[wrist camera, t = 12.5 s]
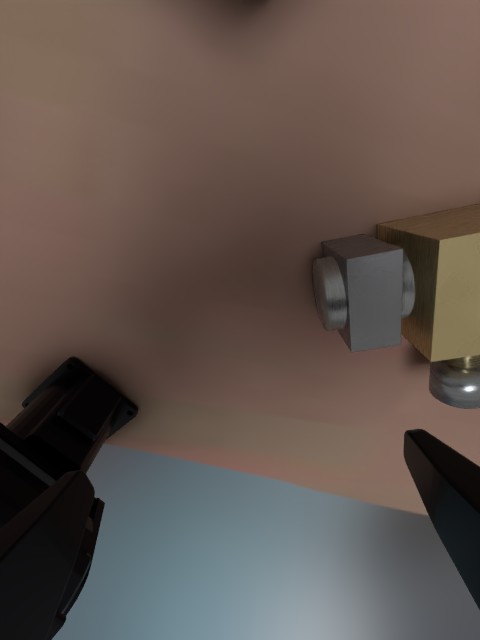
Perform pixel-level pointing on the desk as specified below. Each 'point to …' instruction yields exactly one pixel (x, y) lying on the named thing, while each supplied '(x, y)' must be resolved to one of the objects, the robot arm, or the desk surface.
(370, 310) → the valve
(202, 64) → the desk surface
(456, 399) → the lever
